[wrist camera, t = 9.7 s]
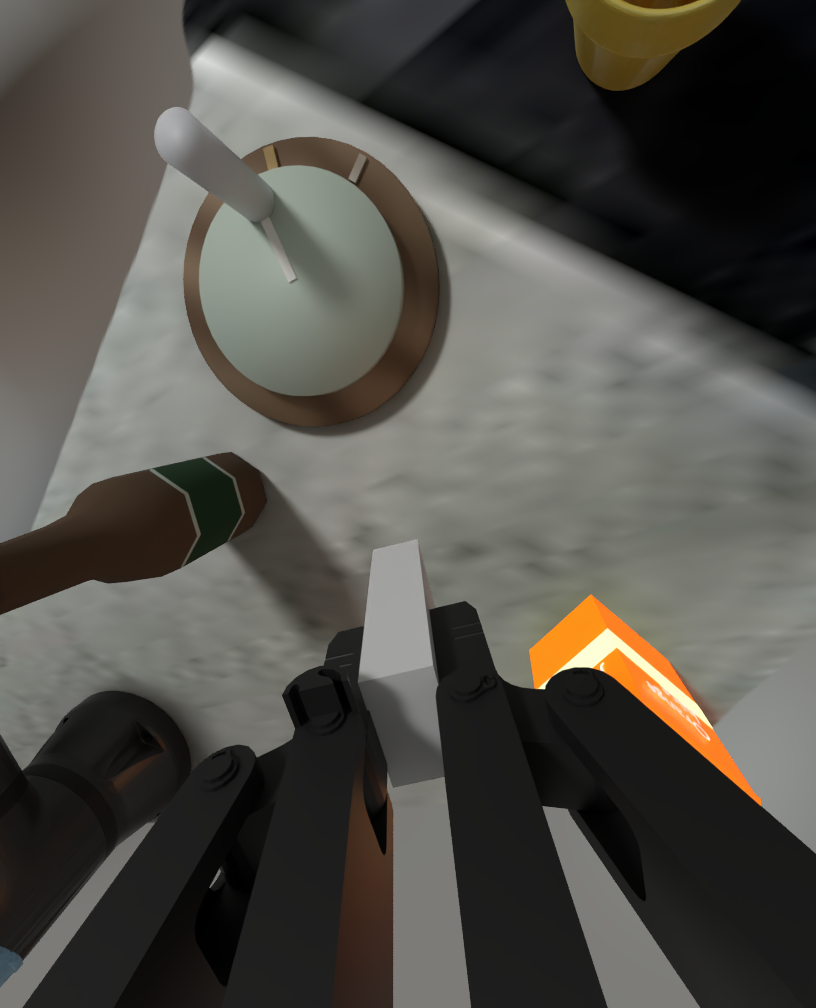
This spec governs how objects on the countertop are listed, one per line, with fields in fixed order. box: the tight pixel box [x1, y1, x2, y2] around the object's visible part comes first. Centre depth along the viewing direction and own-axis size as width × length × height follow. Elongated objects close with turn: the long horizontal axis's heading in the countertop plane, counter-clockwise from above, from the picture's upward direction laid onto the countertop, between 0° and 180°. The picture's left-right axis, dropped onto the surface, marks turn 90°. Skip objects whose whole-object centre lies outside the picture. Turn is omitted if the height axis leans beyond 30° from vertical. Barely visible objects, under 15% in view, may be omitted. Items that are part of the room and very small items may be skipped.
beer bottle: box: [0, 452, 267, 615], centre depth 32 cm, size 8×8×24 cm
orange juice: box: [529, 595, 762, 806], centre depth 31 cm, size 8×9×20 cm
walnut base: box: [183, 137, 439, 426], centre depth 37 cm, size 21×21×2 cm
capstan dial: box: [154, 107, 405, 396], centre depth 32 cm, size 16×16×11 cm
